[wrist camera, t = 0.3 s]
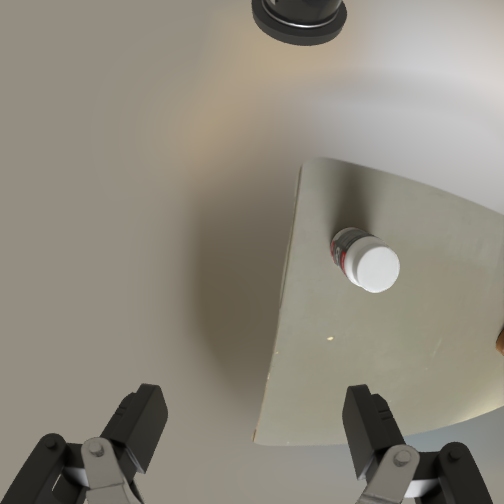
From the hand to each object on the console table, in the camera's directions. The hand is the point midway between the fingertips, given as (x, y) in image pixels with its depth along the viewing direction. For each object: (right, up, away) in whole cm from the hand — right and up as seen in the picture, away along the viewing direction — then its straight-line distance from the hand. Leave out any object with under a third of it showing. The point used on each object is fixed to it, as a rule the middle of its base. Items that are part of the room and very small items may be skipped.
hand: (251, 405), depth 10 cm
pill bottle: (+11, +7, +19) cm, 23 cm away
